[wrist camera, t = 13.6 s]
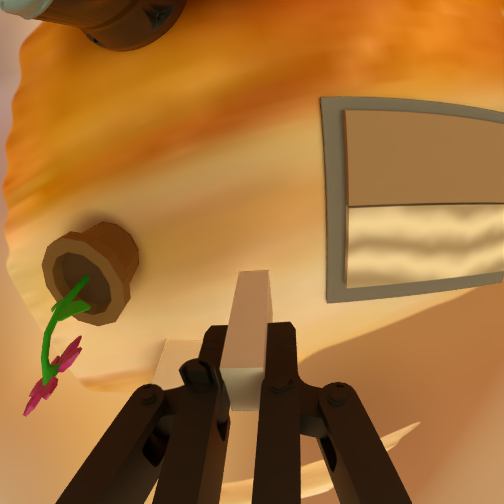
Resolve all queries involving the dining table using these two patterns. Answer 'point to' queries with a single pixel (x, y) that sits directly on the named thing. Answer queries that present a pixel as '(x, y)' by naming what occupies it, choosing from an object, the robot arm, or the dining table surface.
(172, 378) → the milk
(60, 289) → the flowerpot
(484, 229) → the plank
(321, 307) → the dining table surface
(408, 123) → the floor frame
